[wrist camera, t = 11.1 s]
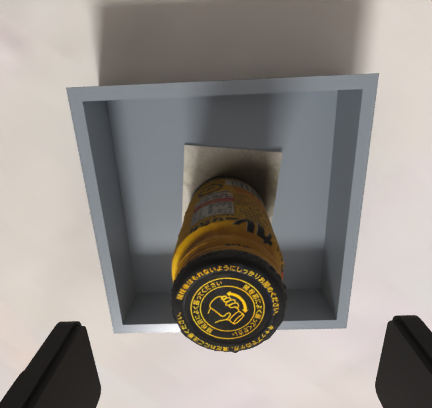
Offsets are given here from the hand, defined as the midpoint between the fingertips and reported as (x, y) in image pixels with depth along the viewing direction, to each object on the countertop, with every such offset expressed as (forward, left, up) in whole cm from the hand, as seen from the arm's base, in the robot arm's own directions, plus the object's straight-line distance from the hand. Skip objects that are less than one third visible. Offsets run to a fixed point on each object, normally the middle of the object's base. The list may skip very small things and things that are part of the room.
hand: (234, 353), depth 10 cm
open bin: (+1, 0, -17) cm, 16 cm away
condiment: (0, 0, -16) cm, 16 cm away
